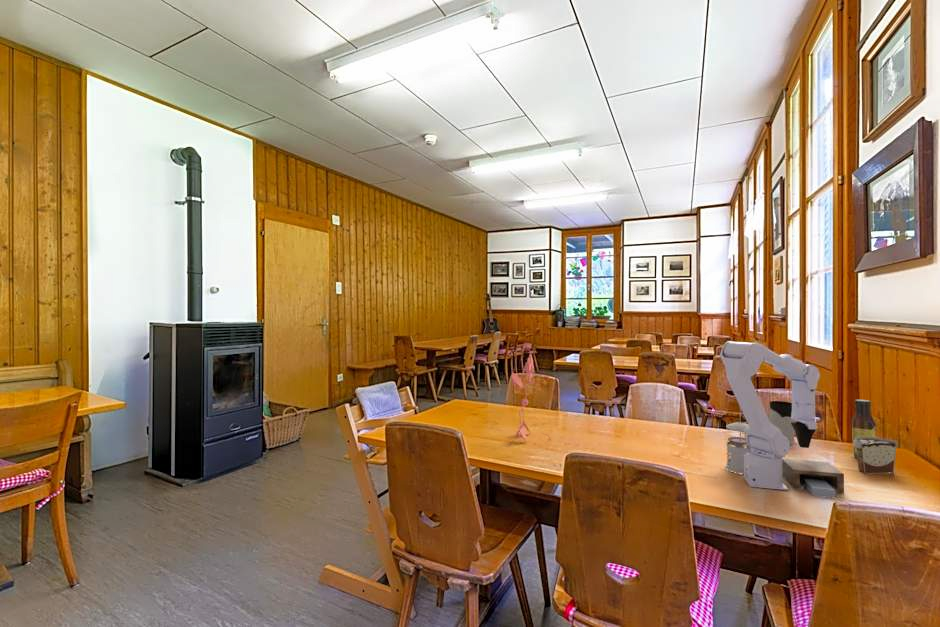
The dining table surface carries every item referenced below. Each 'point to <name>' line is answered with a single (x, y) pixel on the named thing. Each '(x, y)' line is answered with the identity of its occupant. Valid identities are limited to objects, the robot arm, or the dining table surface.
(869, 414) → the sauce bottle
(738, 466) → the french press
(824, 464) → the overhang shelf
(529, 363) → the figurine
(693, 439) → the dining table surface
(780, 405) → the glass holder
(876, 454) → the food container
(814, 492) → the grey rectangular block
